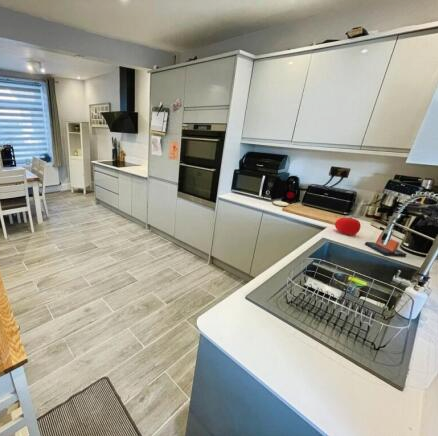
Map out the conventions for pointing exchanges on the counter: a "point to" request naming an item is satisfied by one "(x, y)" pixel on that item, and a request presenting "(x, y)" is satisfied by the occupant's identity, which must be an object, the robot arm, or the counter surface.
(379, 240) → the orange rectangular block
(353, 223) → the tomato
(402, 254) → the dark grey square plate
